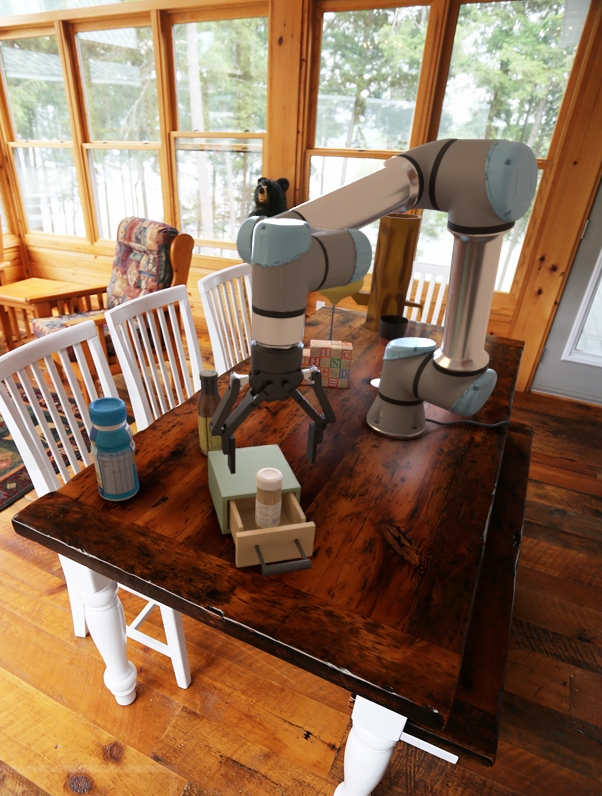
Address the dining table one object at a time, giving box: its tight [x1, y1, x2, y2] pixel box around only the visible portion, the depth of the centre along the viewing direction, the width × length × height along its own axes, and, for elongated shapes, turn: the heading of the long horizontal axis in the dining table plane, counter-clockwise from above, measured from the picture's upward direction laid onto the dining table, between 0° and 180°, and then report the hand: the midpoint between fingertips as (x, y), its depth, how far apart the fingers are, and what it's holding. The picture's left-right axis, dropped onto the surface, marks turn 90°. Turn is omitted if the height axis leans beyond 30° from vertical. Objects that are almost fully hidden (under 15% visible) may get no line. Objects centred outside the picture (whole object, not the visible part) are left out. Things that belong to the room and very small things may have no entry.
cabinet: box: [207, 443, 302, 535], centre depth 101 cm, size 16×15×9 cm
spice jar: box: [255, 468, 283, 530], centre depth 89 cm, size 5×5×14 cm
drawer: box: [227, 492, 316, 578], centre depth 90 cm, size 21×14×7 cm, turn 15°
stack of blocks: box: [300, 339, 353, 389], centre depth 153 cm, size 21×6×12 cm, turn 84°
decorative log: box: [350, 213, 424, 332], centre depth 194 cm, size 14×40×30 cm
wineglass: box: [370, 315, 409, 389], centre depth 151 cm, size 8×9×20 cm
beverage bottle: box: [87, 396, 140, 502], centre depth 100 cm, size 8×8×20 cm
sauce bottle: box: [196, 369, 222, 457], centre depth 115 cm, size 7×6×20 cm
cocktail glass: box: [316, 276, 365, 341], centre depth 176 cm, size 18×18×25 cm
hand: (271, 464), depth 84 cm, fingers open, 13 cm apart
